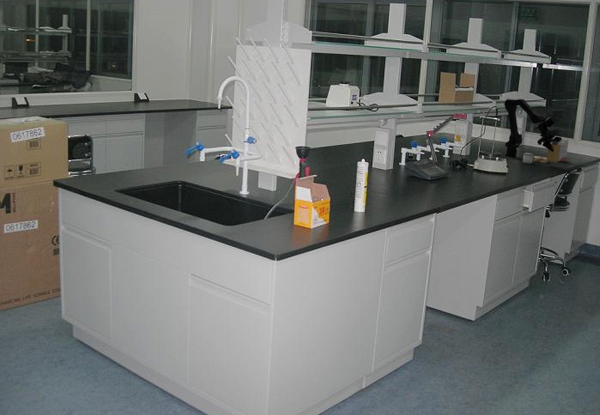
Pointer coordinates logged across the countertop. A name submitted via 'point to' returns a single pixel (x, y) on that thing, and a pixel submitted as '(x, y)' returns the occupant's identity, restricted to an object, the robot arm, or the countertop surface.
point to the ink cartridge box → (563, 150)
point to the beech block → (540, 159)
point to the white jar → (528, 157)
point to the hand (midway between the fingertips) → (555, 151)
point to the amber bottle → (554, 152)
